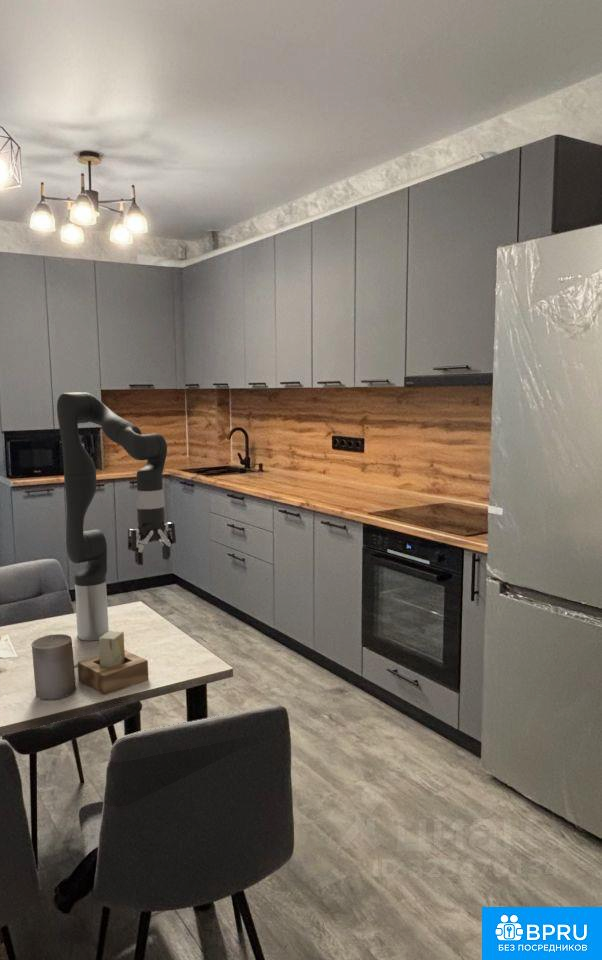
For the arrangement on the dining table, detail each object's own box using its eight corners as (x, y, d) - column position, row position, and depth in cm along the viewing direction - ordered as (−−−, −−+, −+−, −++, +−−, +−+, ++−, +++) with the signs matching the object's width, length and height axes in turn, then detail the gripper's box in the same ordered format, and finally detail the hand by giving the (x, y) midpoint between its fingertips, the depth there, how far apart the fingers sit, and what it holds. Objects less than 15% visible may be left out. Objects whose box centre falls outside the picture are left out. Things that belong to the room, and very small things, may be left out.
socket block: (78, 681, 187) (77, 661, 186) (121, 666, 196) (120, 648, 195) (104, 695, 178) (103, 675, 177) (148, 679, 187) (147, 660, 186)
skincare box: (115, 684, 183) (113, 639, 182) (100, 683, 184) (97, 638, 183) (126, 675, 190) (124, 630, 188) (111, 674, 190) (109, 630, 189)
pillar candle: (68, 681, 187) (63, 626, 185) (81, 693, 179) (77, 636, 177) (30, 691, 181) (25, 635, 179) (42, 704, 173) (37, 645, 171)
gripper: (164, 500, 206) (166, 555, 208) (121, 507, 196) (123, 564, 198) (179, 503, 200) (181, 559, 203) (135, 510, 191) (138, 569, 193)
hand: (153, 561), depth 200 cm, fingers open, 8 cm apart
